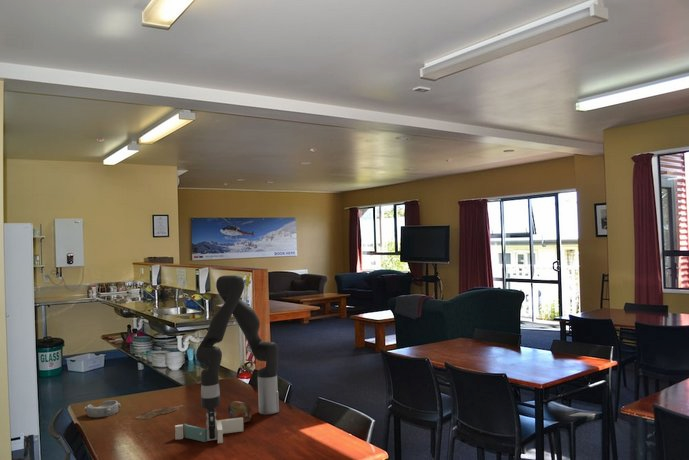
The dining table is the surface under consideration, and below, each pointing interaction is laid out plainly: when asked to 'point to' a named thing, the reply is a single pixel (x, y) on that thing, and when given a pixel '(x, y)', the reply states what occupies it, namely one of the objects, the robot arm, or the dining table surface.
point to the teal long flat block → (195, 433)
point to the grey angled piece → (222, 428)
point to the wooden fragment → (158, 412)
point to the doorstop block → (208, 431)
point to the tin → (240, 410)
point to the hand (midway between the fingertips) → (212, 436)
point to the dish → (103, 409)
